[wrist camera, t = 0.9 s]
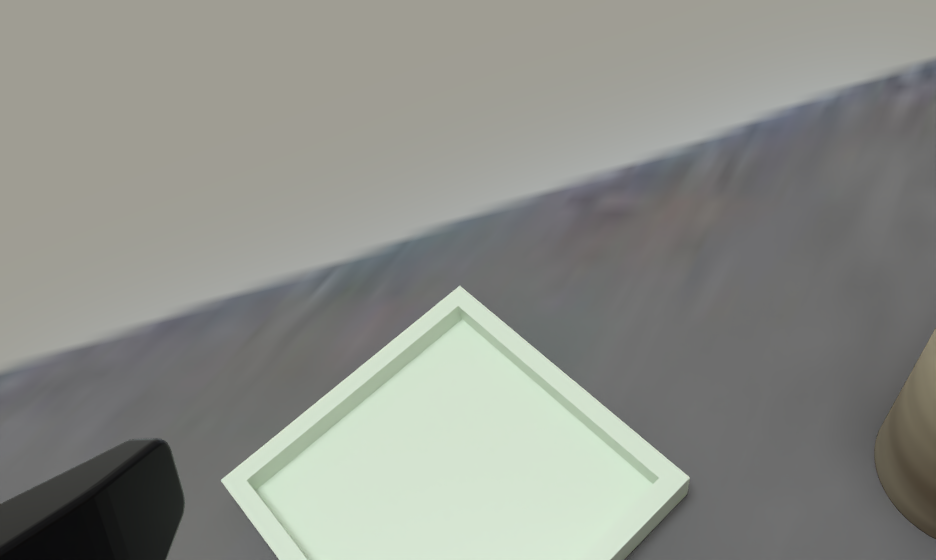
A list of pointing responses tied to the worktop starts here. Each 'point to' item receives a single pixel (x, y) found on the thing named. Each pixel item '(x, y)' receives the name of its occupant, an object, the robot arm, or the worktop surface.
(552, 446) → the tray
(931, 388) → the pepper mill
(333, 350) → the worktop surface
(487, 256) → the worktop surface
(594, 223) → the worktop surface
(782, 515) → the worktop surface
